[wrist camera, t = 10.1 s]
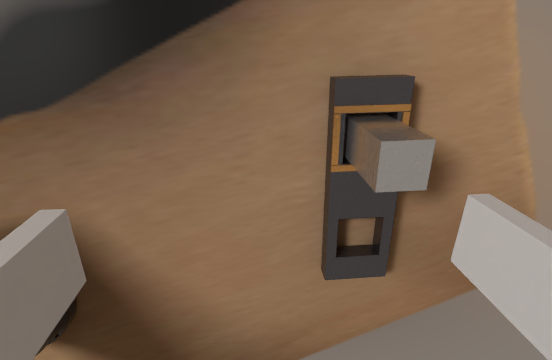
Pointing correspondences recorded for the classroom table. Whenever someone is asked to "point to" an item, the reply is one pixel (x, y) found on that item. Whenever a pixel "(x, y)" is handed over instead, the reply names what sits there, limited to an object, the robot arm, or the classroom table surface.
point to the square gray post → (388, 152)
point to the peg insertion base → (349, 183)
